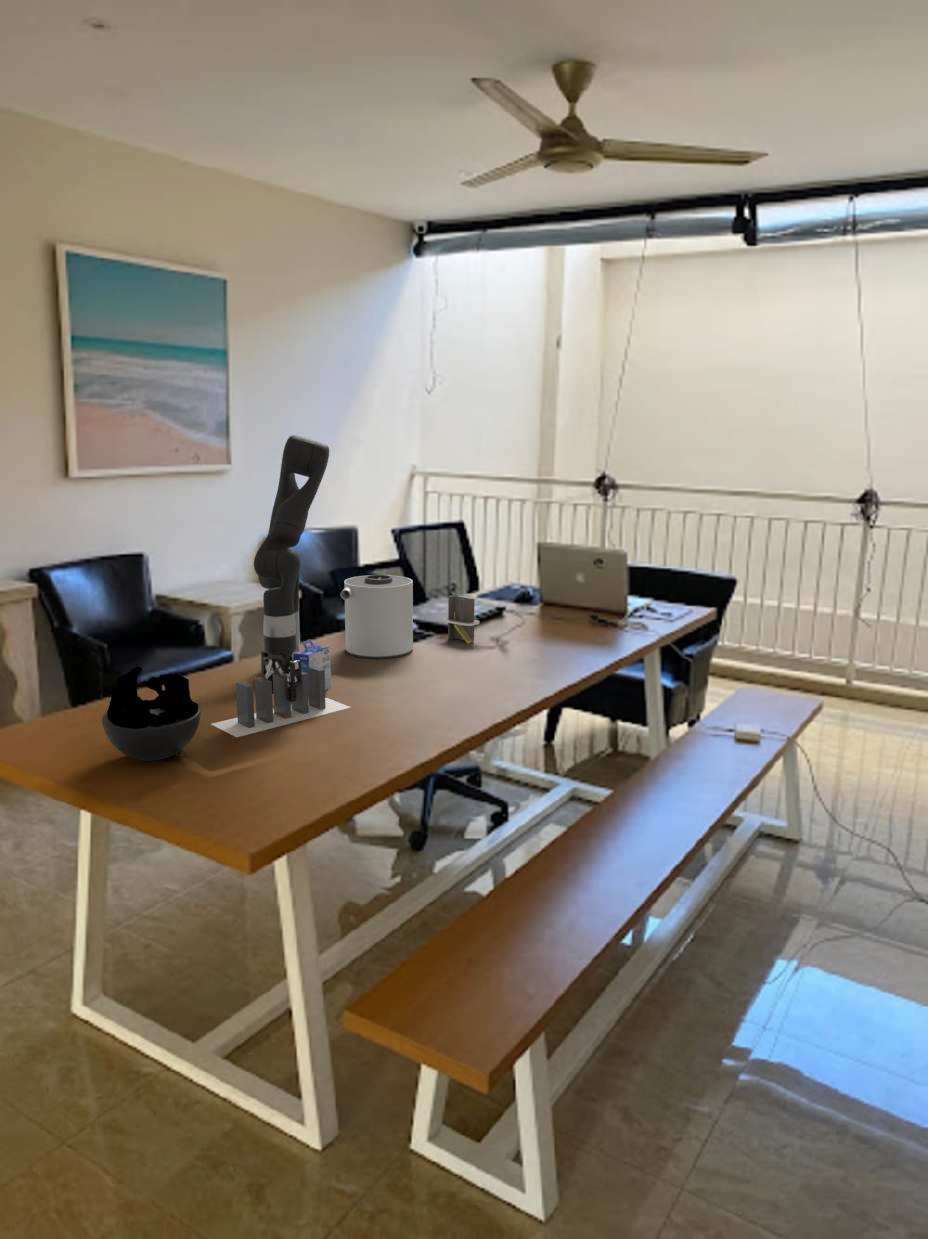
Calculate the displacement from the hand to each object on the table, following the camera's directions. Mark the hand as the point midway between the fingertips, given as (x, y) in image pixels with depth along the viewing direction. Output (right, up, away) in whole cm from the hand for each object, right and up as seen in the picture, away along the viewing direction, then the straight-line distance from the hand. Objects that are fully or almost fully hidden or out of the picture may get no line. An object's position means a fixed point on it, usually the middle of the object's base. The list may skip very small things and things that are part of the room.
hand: (282, 697), depth 220 cm
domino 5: (+7, -3, +8) cm, 11 cm away
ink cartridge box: (+4, -1, +21) cm, 22 cm away
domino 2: (-4, -5, -2) cm, 7 cm away
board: (0, -5, +1) cm, 6 cm away
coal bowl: (-23, -11, -24) cm, 35 cm away
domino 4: (+4, -4, +4) cm, 7 cm away
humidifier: (+16, +9, +64) cm, 67 cm away
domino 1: (-7, -6, -6) cm, 11 cm away
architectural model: (+43, +11, +79) cm, 90 cm away
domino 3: (0, -4, +1) cm, 4 cm away
